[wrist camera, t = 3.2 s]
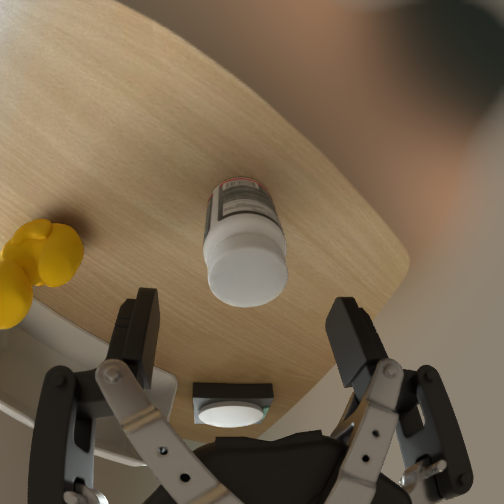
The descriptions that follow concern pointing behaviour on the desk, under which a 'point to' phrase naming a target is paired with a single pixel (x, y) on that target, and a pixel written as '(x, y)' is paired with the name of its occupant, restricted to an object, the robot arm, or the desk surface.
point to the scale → (231, 403)
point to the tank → (77, 359)
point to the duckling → (35, 265)
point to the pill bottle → (244, 244)
